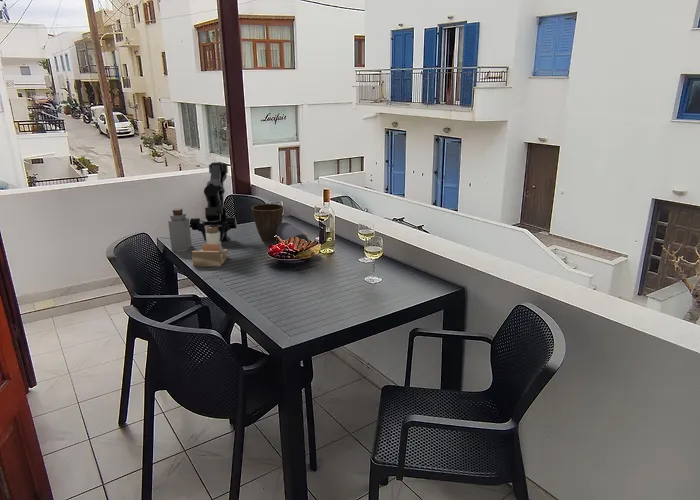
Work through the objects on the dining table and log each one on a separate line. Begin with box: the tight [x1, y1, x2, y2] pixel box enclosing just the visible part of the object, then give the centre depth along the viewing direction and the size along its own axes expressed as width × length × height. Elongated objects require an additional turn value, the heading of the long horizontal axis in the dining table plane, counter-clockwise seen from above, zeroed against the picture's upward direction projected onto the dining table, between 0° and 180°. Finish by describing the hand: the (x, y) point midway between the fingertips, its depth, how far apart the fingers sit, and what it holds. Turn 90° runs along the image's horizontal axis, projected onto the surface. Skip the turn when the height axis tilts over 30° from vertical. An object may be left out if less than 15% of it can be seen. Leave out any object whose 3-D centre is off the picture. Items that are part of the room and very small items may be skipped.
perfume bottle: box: [167, 208, 193, 251], centre depth 210 cm, size 7×7×18 cm
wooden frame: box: [191, 248, 229, 267], centre depth 194 cm, size 12×11×6 cm
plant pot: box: [251, 203, 284, 242], centre depth 223 cm, size 15×15×16 cm
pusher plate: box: [201, 243, 221, 253], centre depth 195 cm, size 1×7×6 cm, turn 88°
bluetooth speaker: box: [276, 221, 310, 243], centre depth 211 cm, size 23×9×10 cm, turn 25°
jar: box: [205, 226, 223, 252], centre depth 198 cm, size 6×6×12 cm
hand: (213, 240), depth 196 cm, fingers closed on jar, 6 cm apart
